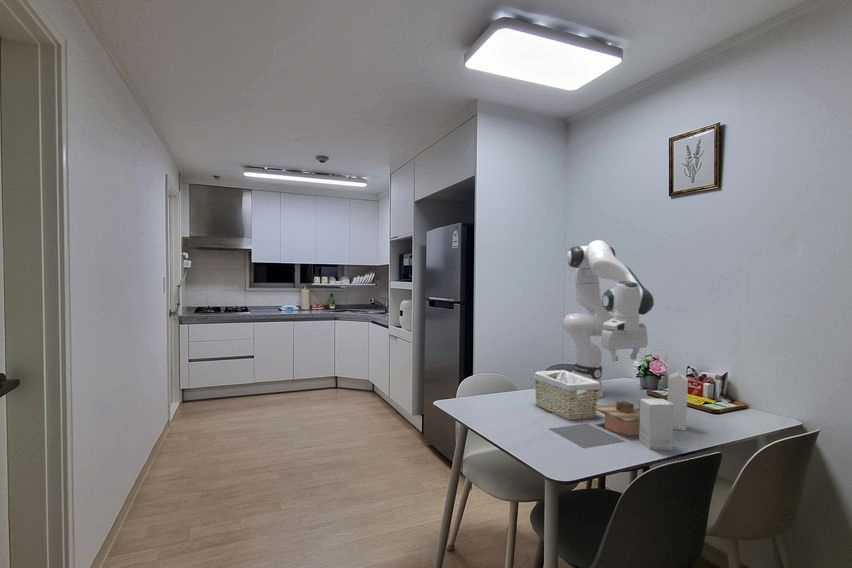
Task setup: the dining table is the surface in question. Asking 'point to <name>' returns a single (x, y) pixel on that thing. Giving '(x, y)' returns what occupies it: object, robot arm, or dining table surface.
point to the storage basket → (566, 394)
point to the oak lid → (620, 411)
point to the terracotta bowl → (622, 426)
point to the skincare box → (656, 423)
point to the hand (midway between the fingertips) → (624, 360)
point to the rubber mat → (586, 435)
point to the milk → (678, 399)
